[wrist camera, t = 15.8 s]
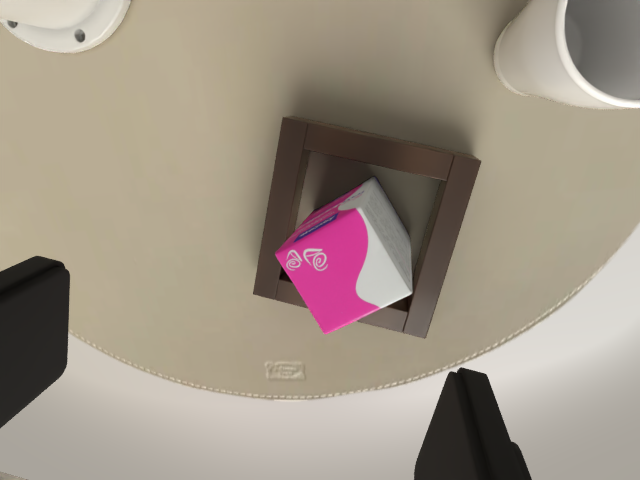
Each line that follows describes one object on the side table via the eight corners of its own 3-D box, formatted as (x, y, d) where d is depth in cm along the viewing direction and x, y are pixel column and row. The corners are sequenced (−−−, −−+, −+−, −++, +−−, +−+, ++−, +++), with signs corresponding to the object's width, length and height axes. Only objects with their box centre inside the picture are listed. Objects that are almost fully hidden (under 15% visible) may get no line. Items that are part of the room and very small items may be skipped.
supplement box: (373, 171, 34) (363, 203, 23) (411, 238, 35) (418, 298, 24) (309, 208, 35) (271, 255, 25) (347, 271, 36) (326, 341, 26)
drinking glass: (527, -25, 29) (657, -151, 14) (612, 36, 29) (823, -28, 15) (459, 70, 31) (513, 42, 17) (539, 127, 31) (660, 146, 17)
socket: (263, 280, 38) (252, 294, 35) (292, 115, 34) (282, 116, 31) (423, 321, 37) (425, 339, 34) (474, 155, 32) (481, 160, 29)
